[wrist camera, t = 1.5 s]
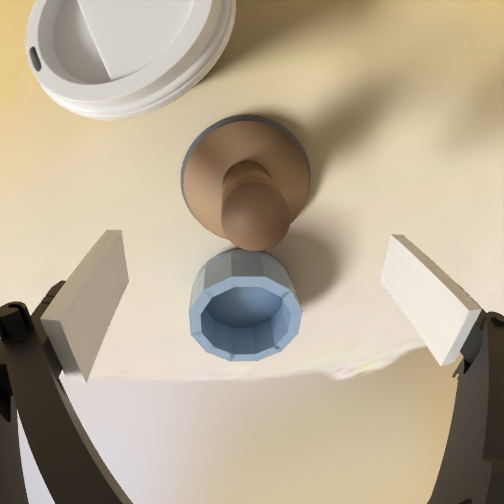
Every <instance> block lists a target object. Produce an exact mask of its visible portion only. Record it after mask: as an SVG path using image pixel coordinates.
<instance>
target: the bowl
mask: <svg viewBox="0 0 504 504" xmlns="http://www.w3.org/2000/svg"><path fill="white" fill-rule="evenodd" d="M301 317H302V308H301V305H300V302H299V300H298V297H297V294H296V291H295V288H294V286H293V284H292V282H291V280H290V278H289V275H288V273H287V271H286V269H285V268H284V266H283V265H282V264H281V263H280V262H279V261H278V260H277V259H276V258H274V257H272V256H271V255H269V254H267V253H265V252H262V251H249V250H245V249H235V250H230V251H226V252H223V253H221V254H219V255H217V256H215V257H213V258H212V259H211V260H209V261H208V262H207V263H206V264H205V265H204V266H203V267H202V269H201V270H200V271H199V273H198V275H197V277H196V280H195V283H194V285H193V287H192V294H191V300H190V308H189V318H190V329H191V335H192V336H193V337H194V338H195V340H196V341H197V342H198V343H199V344H200V345H201V346H202V348H203V349H204V350H205V351H206V352H208V353H210V354H213V355H215V356H218V357H221V358H223V359H226V360H228V361H258V360H261V359H263V358H266V357H268V356H271V355H273V354H275V353H278V352H280V351H282V350H283V349H284V348H285V347H286V346H287V345H288V344H289V343H290V342H291V341H292V339H293V338H294V337H295V336H296V335H297V334H298V332H299V327H300V322H301Z"/></svg>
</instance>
